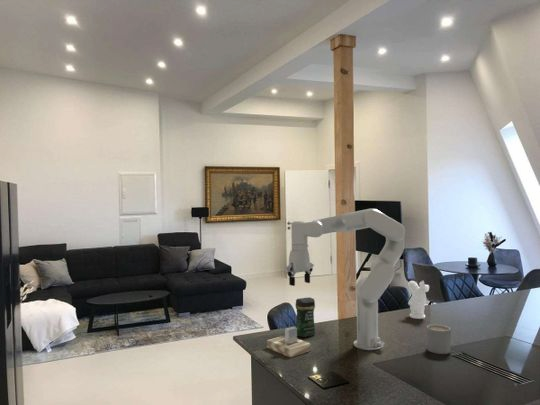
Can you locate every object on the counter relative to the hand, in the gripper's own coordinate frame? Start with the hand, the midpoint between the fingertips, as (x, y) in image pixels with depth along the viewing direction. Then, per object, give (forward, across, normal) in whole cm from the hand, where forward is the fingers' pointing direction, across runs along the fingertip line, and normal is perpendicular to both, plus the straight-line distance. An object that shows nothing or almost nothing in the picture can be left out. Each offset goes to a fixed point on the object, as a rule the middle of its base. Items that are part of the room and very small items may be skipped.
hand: (299, 283), depth 200 cm
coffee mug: (+28, -44, +46) cm, 70 cm away
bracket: (+28, +9, +2) cm, 30 cm away
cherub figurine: (+28, -84, +11) cm, 89 cm away
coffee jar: (+28, -11, -8) cm, 32 cm away
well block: (+28, +9, +2) cm, 30 cm away
